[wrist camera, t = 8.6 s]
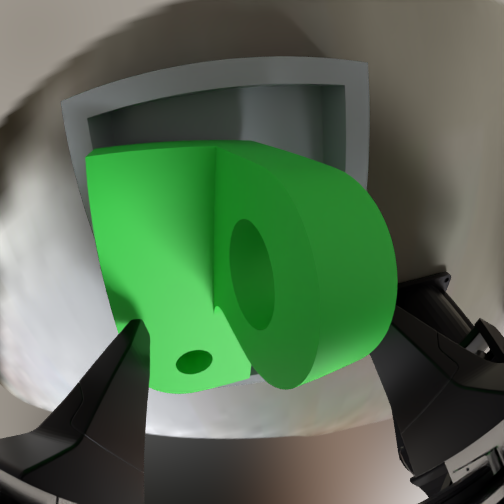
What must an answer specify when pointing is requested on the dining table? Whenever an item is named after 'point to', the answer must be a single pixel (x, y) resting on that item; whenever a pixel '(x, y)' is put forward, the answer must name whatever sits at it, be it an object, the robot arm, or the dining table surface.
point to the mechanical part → (240, 260)
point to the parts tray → (231, 113)
